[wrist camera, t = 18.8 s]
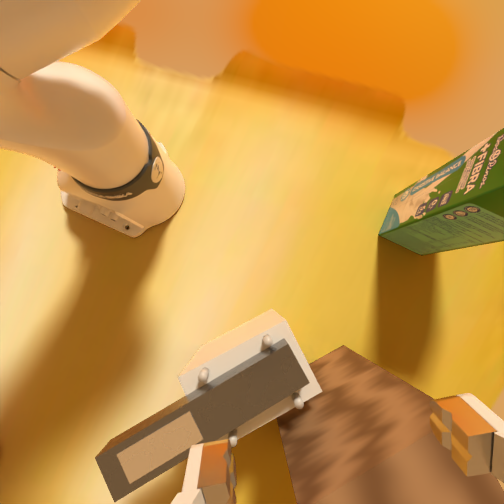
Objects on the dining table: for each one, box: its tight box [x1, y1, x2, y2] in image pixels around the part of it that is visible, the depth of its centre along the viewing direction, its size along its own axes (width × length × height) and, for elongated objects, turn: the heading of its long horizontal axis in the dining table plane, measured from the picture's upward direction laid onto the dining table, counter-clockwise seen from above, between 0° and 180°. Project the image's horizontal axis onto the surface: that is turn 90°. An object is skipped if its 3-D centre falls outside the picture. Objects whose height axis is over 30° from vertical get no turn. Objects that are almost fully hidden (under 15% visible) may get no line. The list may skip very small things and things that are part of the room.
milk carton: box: [379, 128, 504, 255], centre depth 37 cm, size 9×9×25 cm
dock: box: [178, 309, 322, 447], centre depth 36 cm, size 14×9×18 cm, turn 117°
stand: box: [277, 345, 504, 504], centre depth 32 cm, size 15×10×25 cm, turn 117°
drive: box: [95, 338, 310, 502], centre depth 27 cm, size 22×4×3 cm, turn 119°
